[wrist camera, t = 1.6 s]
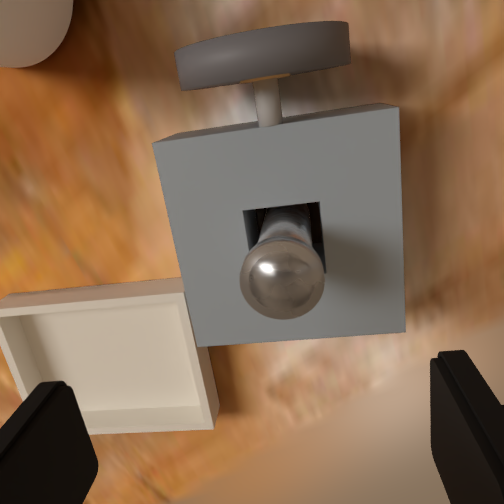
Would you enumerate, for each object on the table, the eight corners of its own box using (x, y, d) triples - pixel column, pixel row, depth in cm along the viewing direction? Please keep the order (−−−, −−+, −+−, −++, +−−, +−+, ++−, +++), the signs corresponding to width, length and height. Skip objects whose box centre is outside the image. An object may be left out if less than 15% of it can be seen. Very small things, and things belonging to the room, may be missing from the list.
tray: (192, 276, 30) (183, 292, 27) (219, 405, 34) (213, 429, 31) (9, 294, 32) (-14, 310, 30) (54, 413, 36) (37, 436, 33)
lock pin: (313, 184, 27) (320, 237, 17) (318, 239, 28) (328, 316, 19) (255, 191, 27) (233, 246, 18) (263, 245, 28) (246, 322, 19)
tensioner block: (376, 27, 23) (416, -3, 15) (388, 292, 29) (422, 370, 21) (164, 64, 25) (101, 54, 17) (212, 307, 30) (182, 384, 23)
